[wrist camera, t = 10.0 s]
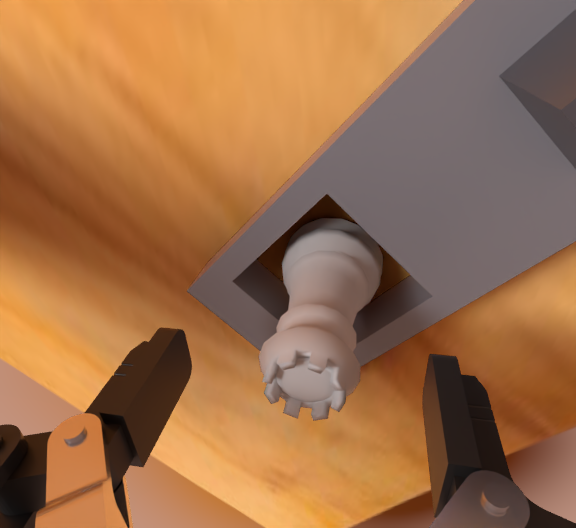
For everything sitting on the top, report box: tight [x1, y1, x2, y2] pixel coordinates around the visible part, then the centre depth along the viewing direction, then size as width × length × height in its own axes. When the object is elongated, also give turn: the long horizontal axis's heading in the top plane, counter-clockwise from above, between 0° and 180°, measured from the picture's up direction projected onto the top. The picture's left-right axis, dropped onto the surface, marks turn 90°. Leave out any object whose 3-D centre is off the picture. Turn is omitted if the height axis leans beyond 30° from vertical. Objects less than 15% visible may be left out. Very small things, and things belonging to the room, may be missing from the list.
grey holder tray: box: [187, 0, 576, 367], centre depth 12 cm, size 22×8×8 cm, turn 138°
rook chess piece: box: [259, 218, 383, 421], centre depth 15 cm, size 4×4×8 cm
